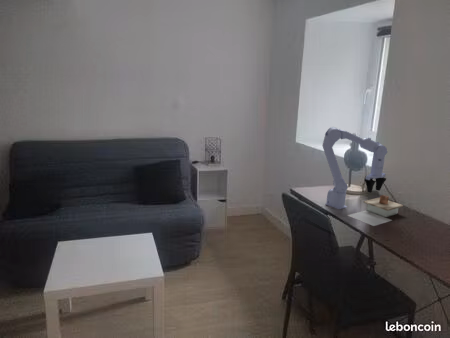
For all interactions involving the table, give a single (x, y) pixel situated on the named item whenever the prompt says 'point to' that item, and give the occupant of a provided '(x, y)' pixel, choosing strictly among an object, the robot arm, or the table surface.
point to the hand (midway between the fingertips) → (373, 191)
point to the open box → (382, 211)
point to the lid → (383, 203)
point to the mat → (369, 218)
